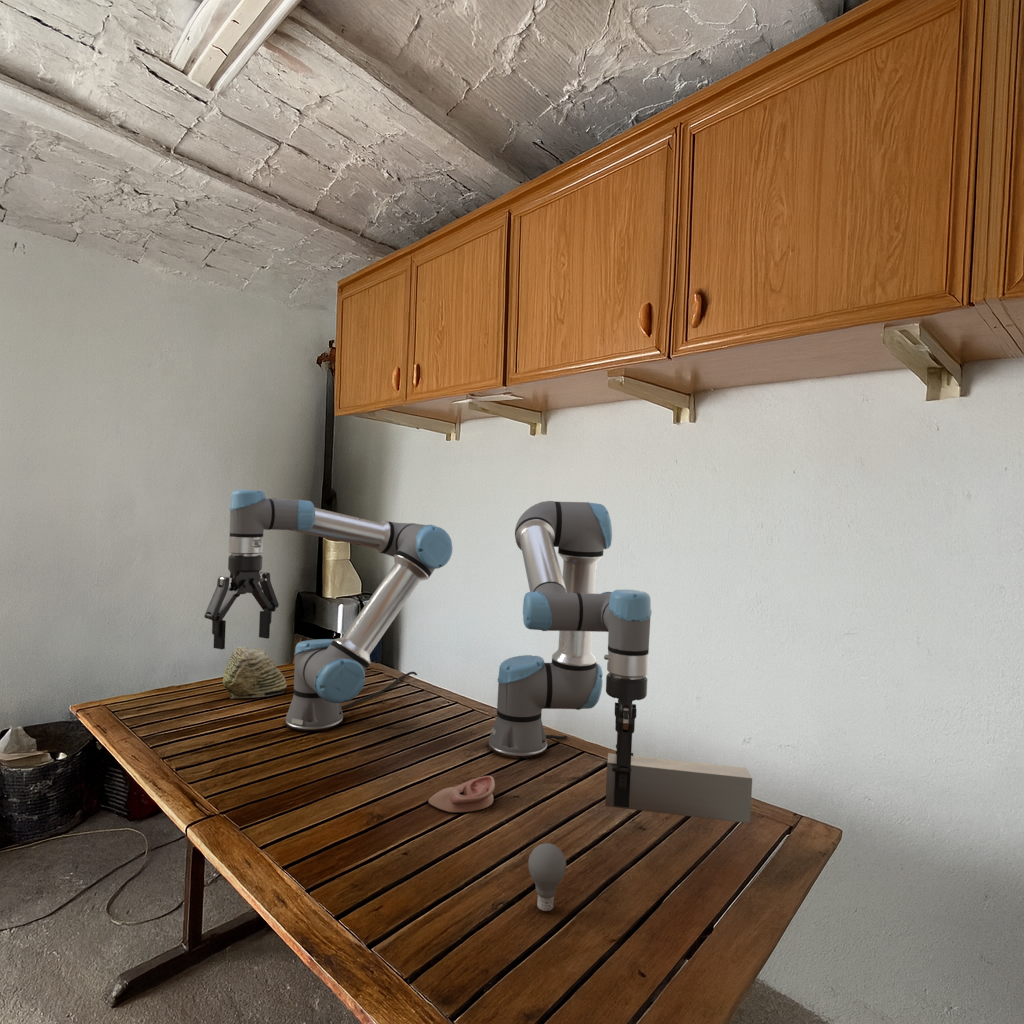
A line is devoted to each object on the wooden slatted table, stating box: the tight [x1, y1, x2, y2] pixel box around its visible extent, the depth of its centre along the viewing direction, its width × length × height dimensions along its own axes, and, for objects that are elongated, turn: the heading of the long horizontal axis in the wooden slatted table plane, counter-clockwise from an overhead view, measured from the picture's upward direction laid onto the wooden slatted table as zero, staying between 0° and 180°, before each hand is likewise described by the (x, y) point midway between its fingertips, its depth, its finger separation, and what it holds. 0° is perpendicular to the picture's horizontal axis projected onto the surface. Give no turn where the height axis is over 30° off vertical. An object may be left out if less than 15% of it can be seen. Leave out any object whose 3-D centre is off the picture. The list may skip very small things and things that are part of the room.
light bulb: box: [527, 842, 567, 912], centre depth 100 cm, size 6×6×10 cm
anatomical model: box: [427, 775, 496, 813], centre depth 134 cm, size 13×4×12 cm
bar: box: [604, 752, 753, 824], centre depth 116 cm, size 25×5×8 cm, turn 80°
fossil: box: [222, 646, 288, 699], centre depth 198 cm, size 9×18×15 cm, turn 132°
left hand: (242, 643), depth 152 cm, fingers open, 13 cm apart
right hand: (621, 799), depth 118 cm, fingers closed on bar, 5 cm apart
